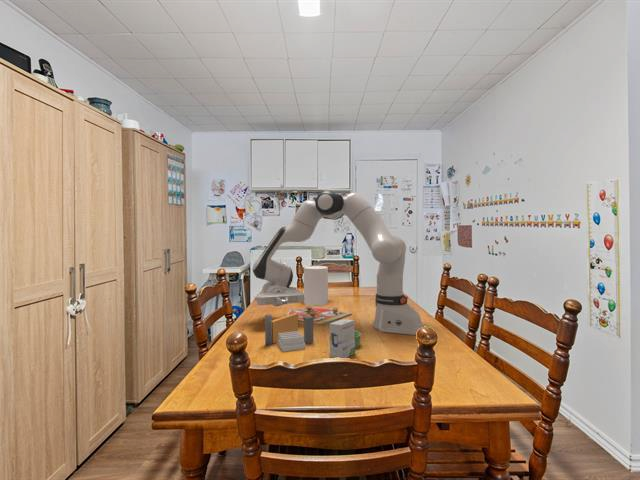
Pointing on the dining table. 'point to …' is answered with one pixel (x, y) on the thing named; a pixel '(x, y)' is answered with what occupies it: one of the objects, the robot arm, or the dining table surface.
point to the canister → (315, 285)
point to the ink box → (342, 338)
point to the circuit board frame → (290, 335)
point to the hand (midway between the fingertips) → (284, 302)
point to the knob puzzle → (319, 314)
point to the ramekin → (357, 338)
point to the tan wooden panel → (284, 326)
